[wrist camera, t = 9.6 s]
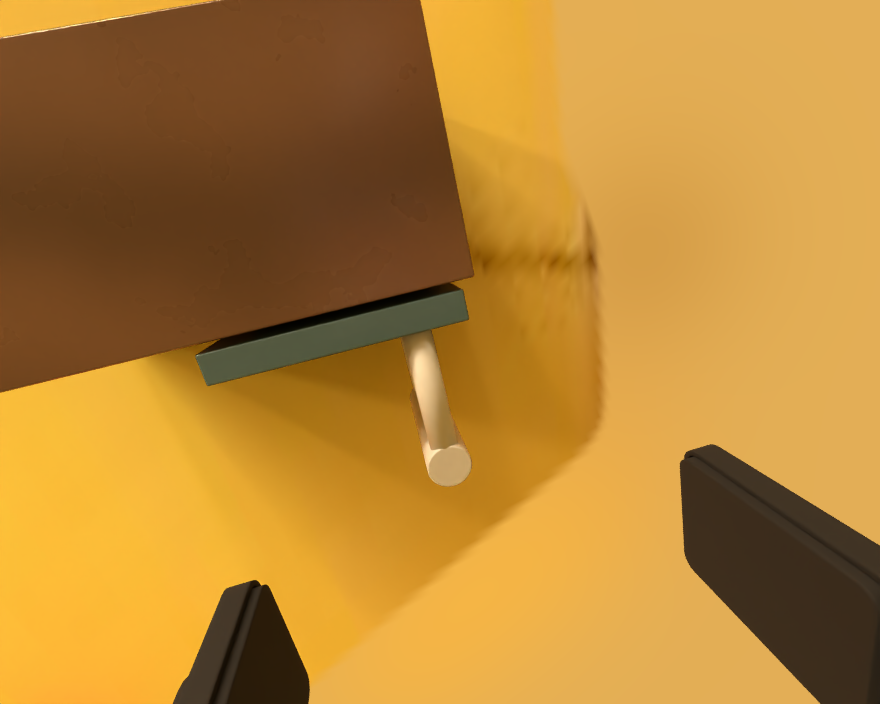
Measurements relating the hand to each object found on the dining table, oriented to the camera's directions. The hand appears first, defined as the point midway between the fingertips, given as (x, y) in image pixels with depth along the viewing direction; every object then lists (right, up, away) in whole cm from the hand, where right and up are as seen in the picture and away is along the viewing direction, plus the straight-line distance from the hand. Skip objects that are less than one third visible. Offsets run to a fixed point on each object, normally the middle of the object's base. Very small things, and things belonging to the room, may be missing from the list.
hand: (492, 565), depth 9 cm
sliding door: (-5, +5, +14) cm, 15 cm away
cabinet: (-10, +11, +11) cm, 19 cm away
